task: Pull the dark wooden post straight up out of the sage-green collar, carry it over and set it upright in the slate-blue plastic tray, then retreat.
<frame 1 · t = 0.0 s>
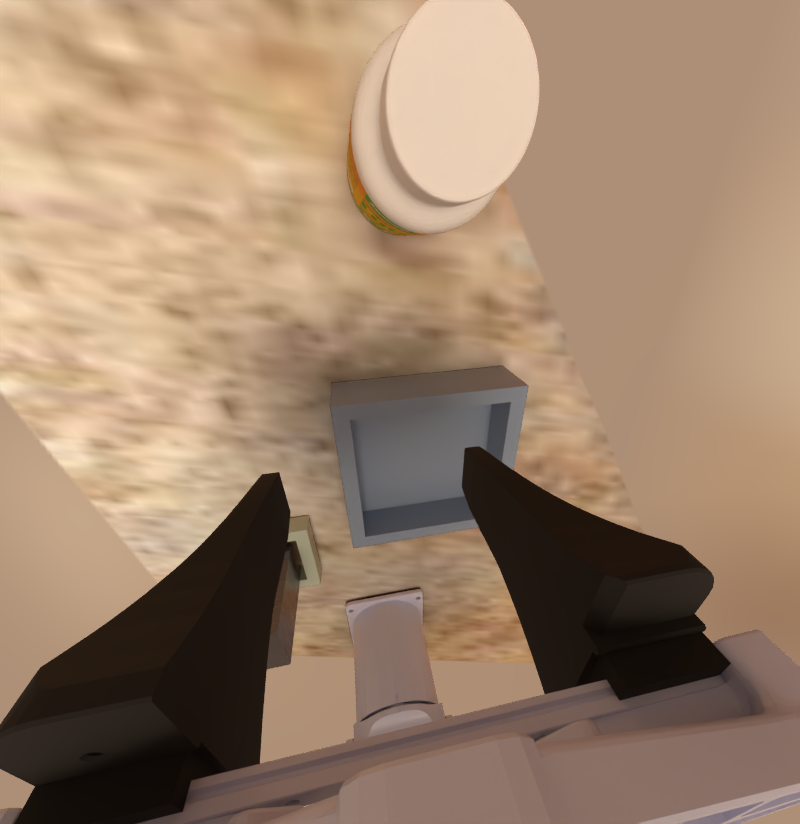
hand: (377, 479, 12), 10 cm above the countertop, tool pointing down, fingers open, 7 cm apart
supplement bottle: (399, 176, 16), on the countertop
holder: (273, 550, 27), on the countertop
tray: (420, 445, 25), on the countertop
dark wooden post: (274, 550, 27), resting in holder
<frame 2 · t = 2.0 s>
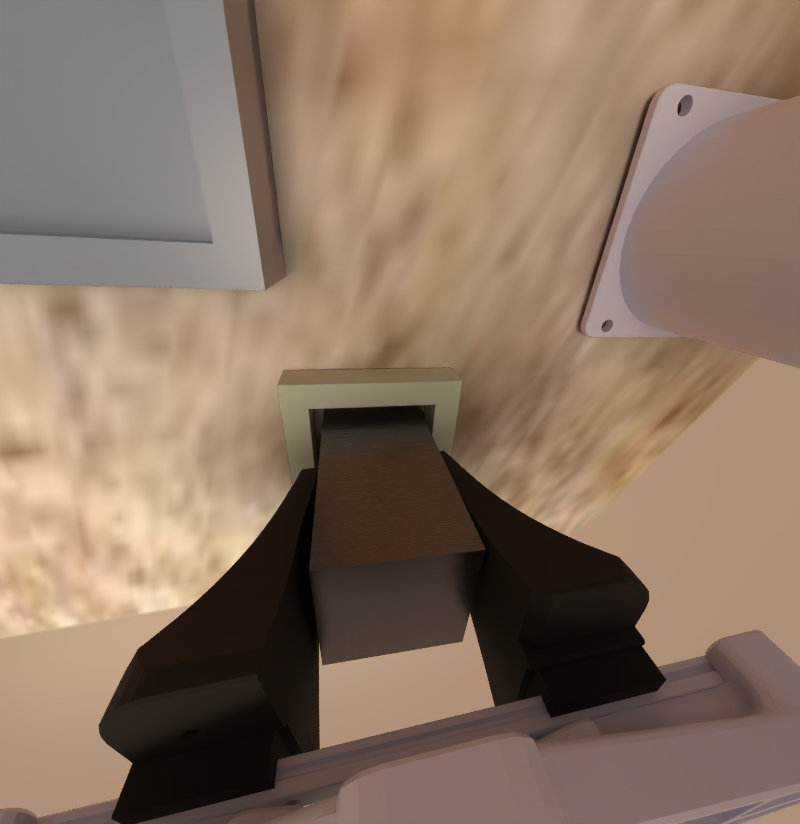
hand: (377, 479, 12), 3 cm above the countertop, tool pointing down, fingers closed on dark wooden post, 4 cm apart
holder: (370, 439, 15), on the countertop
dark wooden post: (370, 438, 15), resting in holder, touching gripper
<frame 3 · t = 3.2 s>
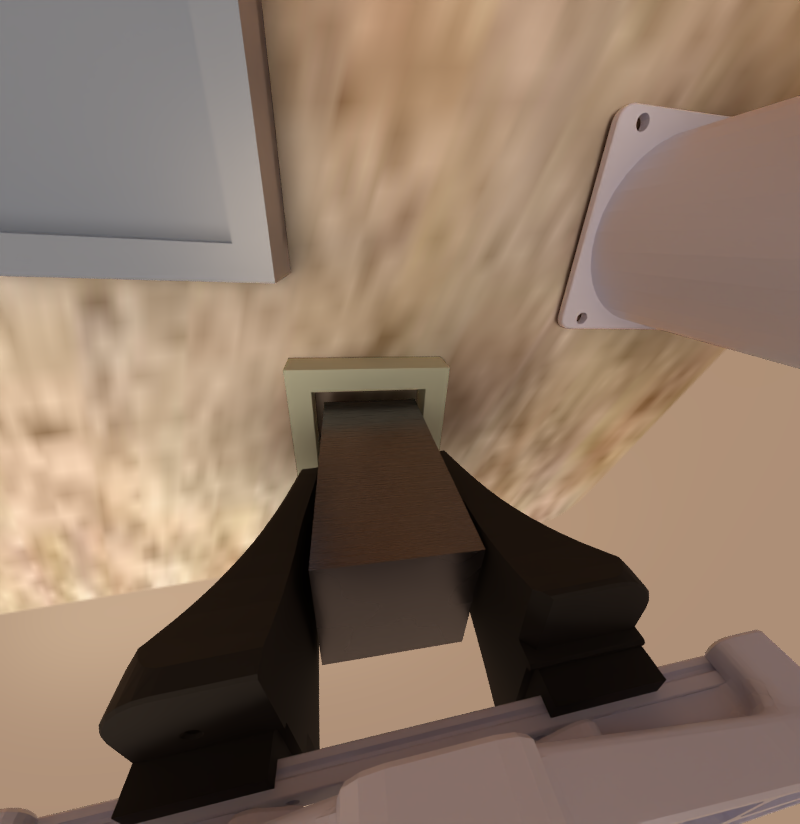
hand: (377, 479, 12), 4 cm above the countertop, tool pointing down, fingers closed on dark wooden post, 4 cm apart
holder: (367, 422, 16), on the countertop
tray: (34, 24, 9), on the countertop
dark wooden post: (370, 438, 15), point 2 cm above the countertop, touching gripper
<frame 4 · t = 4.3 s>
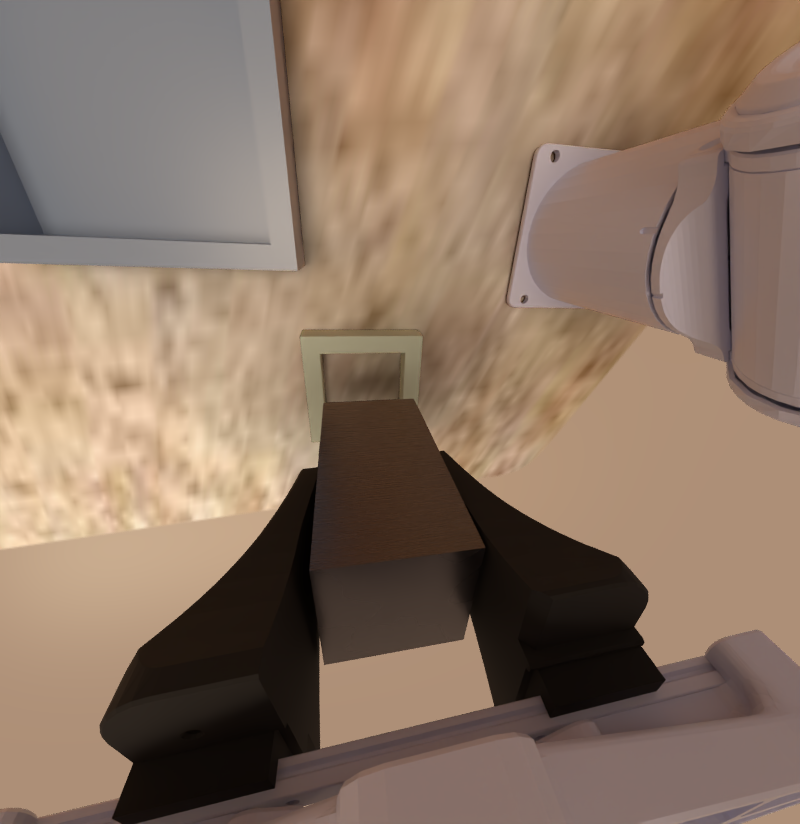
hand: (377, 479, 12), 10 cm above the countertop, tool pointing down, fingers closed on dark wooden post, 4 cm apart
holder: (362, 382, 21), on the countertop
tray: (143, 104, 13), on the countertop
dark wooden post: (370, 438, 15), point 7 cm above the countertop, touching gripper
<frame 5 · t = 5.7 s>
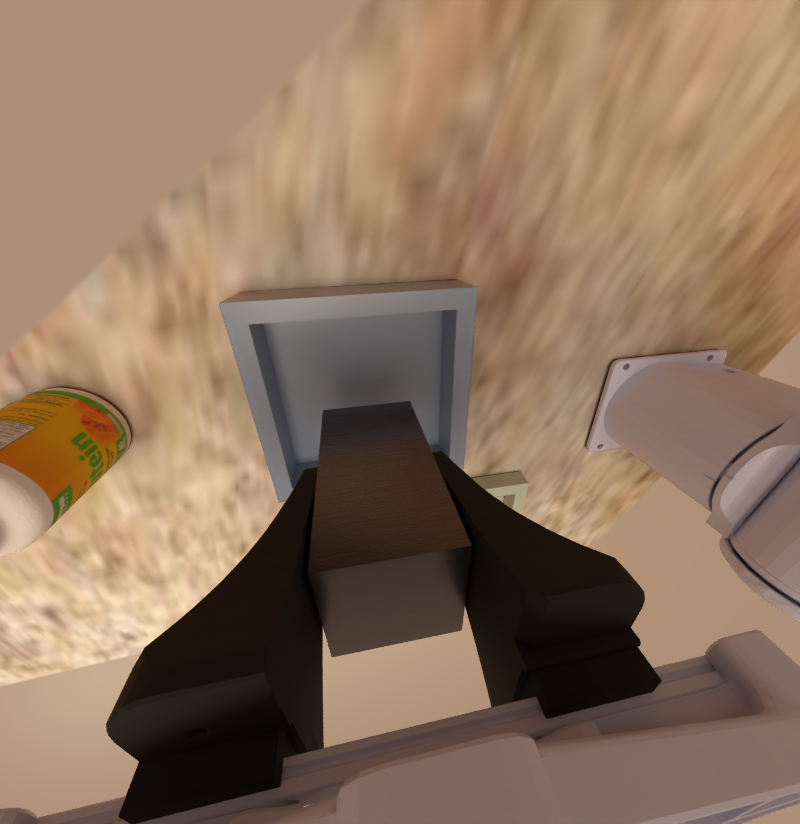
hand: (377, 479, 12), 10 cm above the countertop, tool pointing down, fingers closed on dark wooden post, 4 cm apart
supplement bottle: (83, 424, 19), on the countertop
holder: (477, 507, 28), on the countertop
tray: (362, 383, 21), on the countertop
dark wooden post: (370, 441, 15), point 6 cm above the countertop, touching gripper
when the fingers open (5 cm above the countertop, at t = 6.8 s): dark wooden post stays where it is, resting on tray.
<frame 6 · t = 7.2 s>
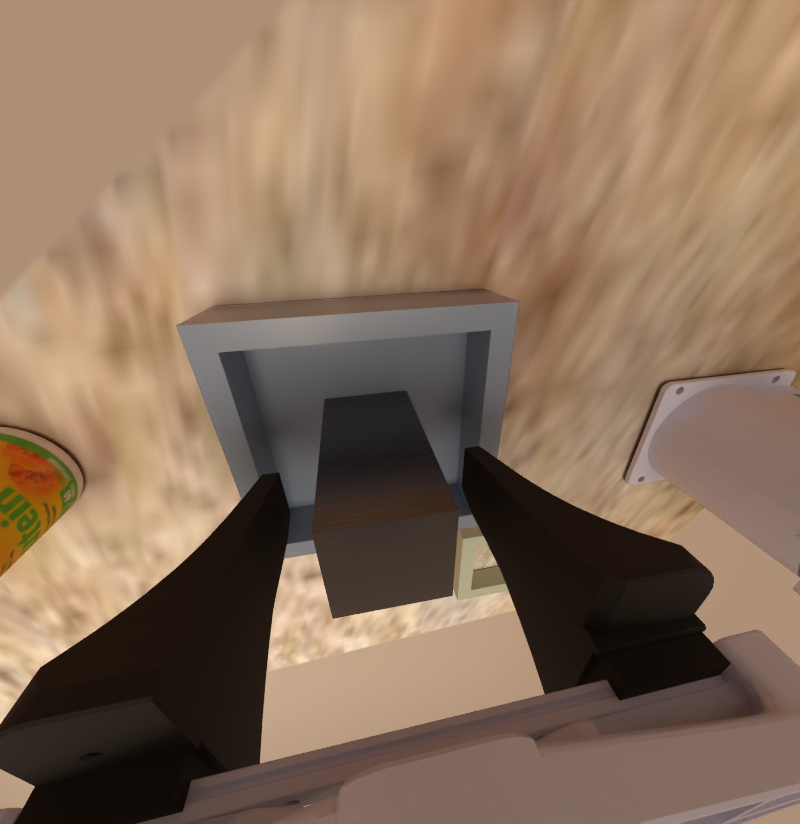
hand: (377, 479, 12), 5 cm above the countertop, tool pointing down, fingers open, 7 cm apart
supplement bottle: (23, 467, 16), on the countertop
holder: (496, 546, 25), on the countertop
tray: (366, 413, 17), on the countertop
dark wooden post: (369, 429, 16), point 1 cm above the countertop, touching tray
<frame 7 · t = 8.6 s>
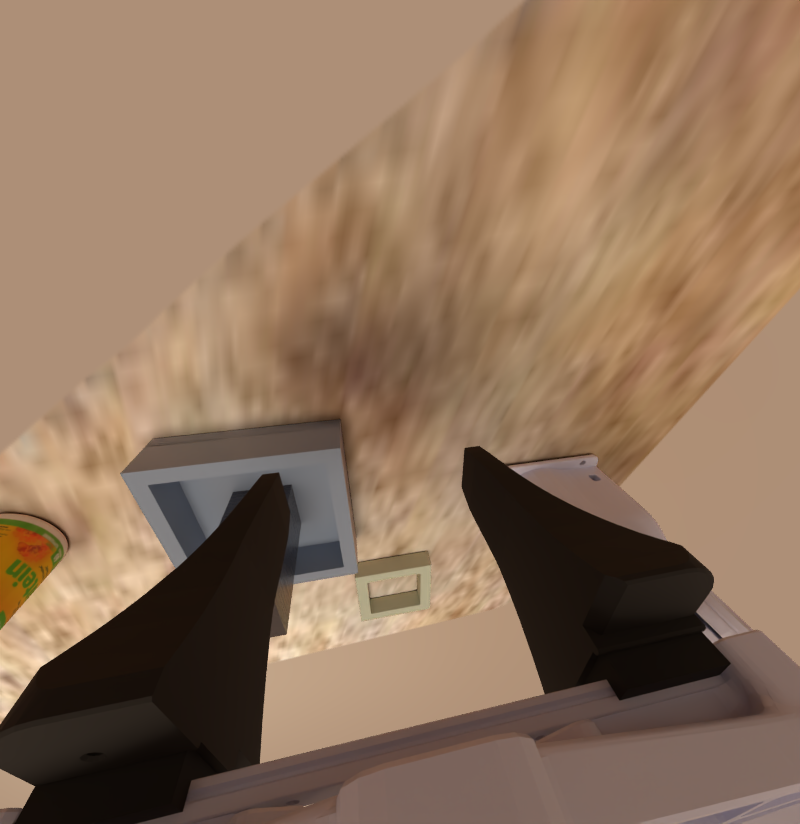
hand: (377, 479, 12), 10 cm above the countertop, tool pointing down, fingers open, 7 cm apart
supplement bottle: (26, 536, 23), on the countertop
holder: (392, 579, 32), on the countertop
tray: (270, 495, 24), on the countertop
dark wooden post: (269, 508, 23), point 1 cm above the countertop, touching tray
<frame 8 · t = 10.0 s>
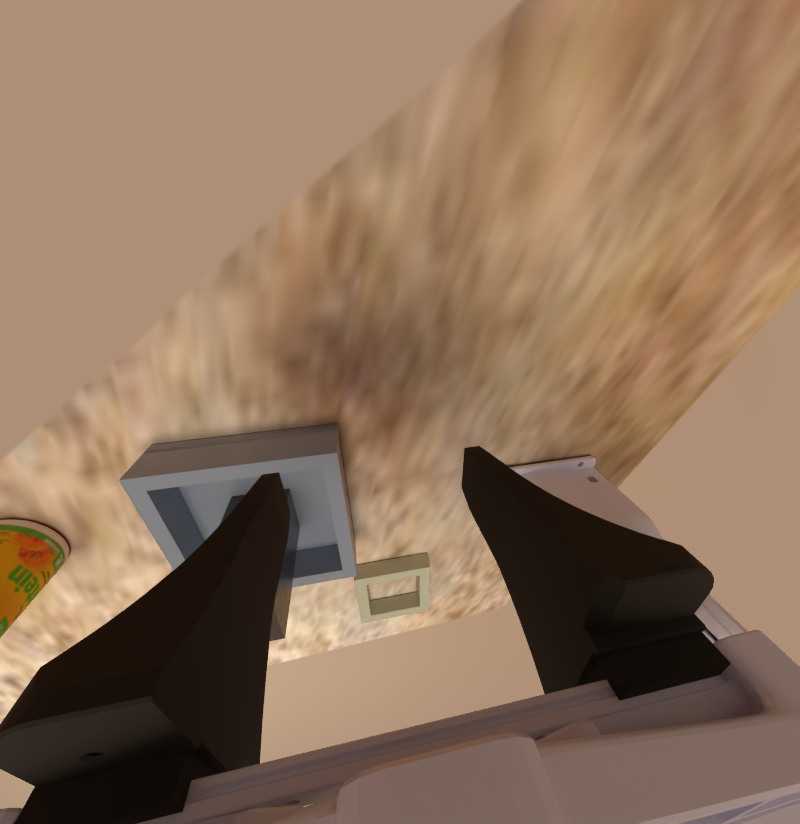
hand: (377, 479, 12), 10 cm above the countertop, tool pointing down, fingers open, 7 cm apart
supplement bottle: (28, 541, 23), on the countertop
holder: (392, 581, 32), on the countertop
tray: (268, 499, 24), on the countertop
dark wooden post: (267, 512, 24), point 1 cm above the countertop, touching tray
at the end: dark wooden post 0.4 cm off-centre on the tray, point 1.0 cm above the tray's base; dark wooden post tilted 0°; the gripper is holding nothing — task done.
